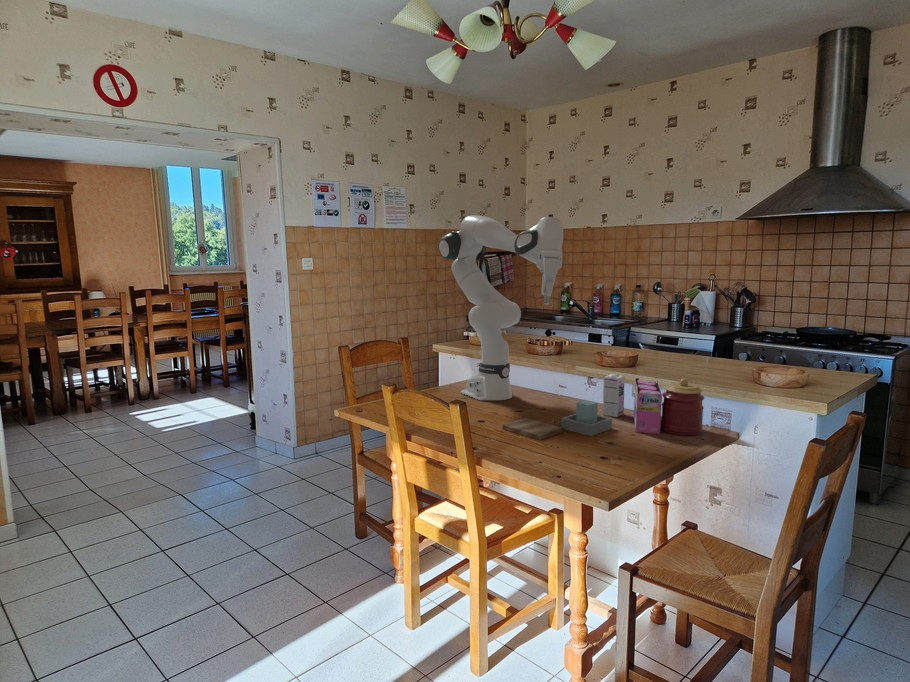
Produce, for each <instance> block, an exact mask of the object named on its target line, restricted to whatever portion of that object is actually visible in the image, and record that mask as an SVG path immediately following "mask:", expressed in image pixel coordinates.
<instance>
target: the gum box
mask: <svg viewBox="0 0 910 682" xmlns="http://www.w3.org/2000/svg"><path fill="white" fill-rule="evenodd" d="M646 380H647V379H639V377H635V380H634V381H635V382H634V400H633V401H634V404H633V406H634V407H633V418H634V428H635V429H634V432H635V433H641V432H644V433H645V434H655V433H658V435H661V434H660V433H661V420H662V403H663V396H662V394H663V392H662V391H661V389H660V385H659V381H658V380H657V383H656V382H651V381H652V380H649V381H646Z"/></svg>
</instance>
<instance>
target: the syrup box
mask: <svg viewBox="0 0 910 682" xmlns="http://www.w3.org/2000/svg"><path fill="white" fill-rule="evenodd" d="M602 396H603V398H602V399H603V400H602V402H603V404H602V414H603V415H602V416H605V417H611V418H619V417H620V416H621V415H624V412H625V411H624V409H625V407H624V406H625V403H624V402H625V375H623V374H616V373H615V374H614V373H613V374H611V373H610V374H608V375H606V376H604V377H603V395H602Z"/></svg>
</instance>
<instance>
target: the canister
mask: <svg viewBox="0 0 910 682" xmlns="http://www.w3.org/2000/svg"><path fill="white" fill-rule="evenodd" d="M665 390H666V391H664V392H662V398H663V401H662V405H661V422H660V428H661V430H662V431H664V432H665V433H667V434H670V435H676V436H684V435H692V436H697V435H700V434H701V433H702V431H703V427H704V424H703V417H704V409H705V407H704V406H703V401H704V400H705V396H704V395H703V394H702V392H703V390H702V388H700V387H699V386H698V385H696V384H693V383H689V380H688V379H687V378H681V379H680V380H679V382H672V383H670V384H669V385H667V386H665Z"/></svg>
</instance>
